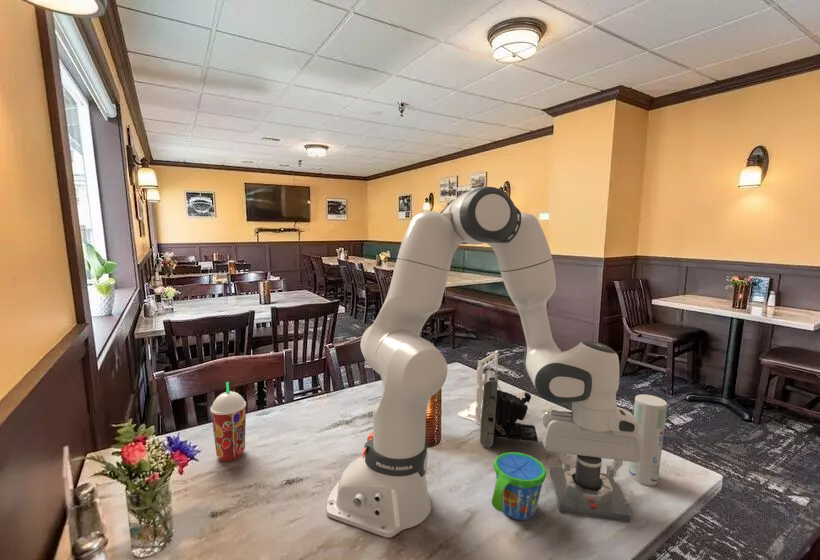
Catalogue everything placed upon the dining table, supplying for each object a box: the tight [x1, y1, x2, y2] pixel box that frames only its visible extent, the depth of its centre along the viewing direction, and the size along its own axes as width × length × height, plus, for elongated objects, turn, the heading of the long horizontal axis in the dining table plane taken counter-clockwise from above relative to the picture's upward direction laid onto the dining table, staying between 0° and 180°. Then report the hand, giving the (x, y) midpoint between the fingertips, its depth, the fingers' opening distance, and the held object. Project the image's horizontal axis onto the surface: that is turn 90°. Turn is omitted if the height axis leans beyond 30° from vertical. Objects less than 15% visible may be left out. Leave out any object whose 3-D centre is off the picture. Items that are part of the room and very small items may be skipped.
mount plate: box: [549, 466, 632, 523], centre depth 90 cm, size 14×14×4 cm
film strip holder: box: [457, 350, 502, 426], centre depth 126 cm, size 14×14×20 cm
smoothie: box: [209, 381, 247, 462], centre depth 102 cm, size 8×8×20 cm
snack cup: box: [491, 451, 547, 521], centre depth 84 cm, size 16×10×10 cm
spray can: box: [628, 393, 668, 486], centre depth 95 cm, size 6×6×20 cm
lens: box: [575, 455, 603, 491], centre depth 89 cm, size 5×5×8 cm
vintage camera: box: [479, 367, 539, 449], centre depth 110 cm, size 10×16×20 cm, turn 78°
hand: (588, 472), depth 89 cm, fingers open, 8 cm apart
